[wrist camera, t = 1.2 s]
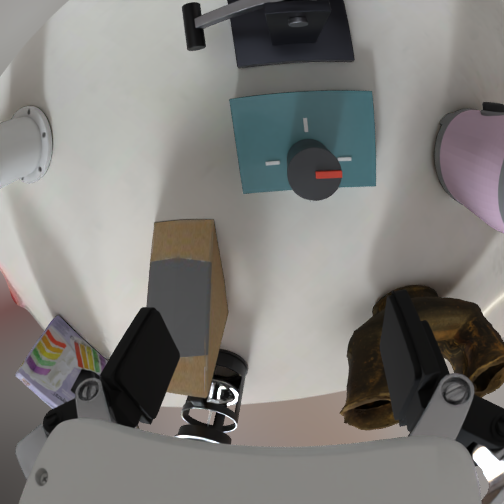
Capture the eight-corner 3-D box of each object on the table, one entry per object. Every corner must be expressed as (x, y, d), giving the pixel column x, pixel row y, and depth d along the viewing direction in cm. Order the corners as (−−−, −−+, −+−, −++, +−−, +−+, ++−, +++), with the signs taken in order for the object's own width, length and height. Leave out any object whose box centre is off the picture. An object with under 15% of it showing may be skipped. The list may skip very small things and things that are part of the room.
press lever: (199, 51, 21) (180, 50, 19) (193, 10, 19) (175, 7, 17) (321, 20, 14) (308, 12, 13) (310, -30, 12) (296, -41, 10)
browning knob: (288, 182, 28) (289, 203, 22) (284, 140, 26) (284, 149, 20) (331, 180, 27) (343, 200, 22) (329, 137, 25) (341, 146, 20)
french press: (253, 381, 50) (236, 493, 30) (206, 381, 51) (179, 484, 31) (239, 341, 44) (211, 475, 24) (186, 342, 46) (143, 462, 26)
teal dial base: (248, 196, 32) (244, 206, 29) (234, 99, 27) (228, 99, 24) (368, 189, 30) (376, 198, 27) (364, 92, 25) (372, 91, 22)
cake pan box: (121, 370, 55) (91, 432, 39) (111, 374, 57) (82, 432, 41) (59, 312, 48) (15, 370, 33) (53, 318, 50) (12, 373, 35)
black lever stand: (239, 68, 25) (212, 47, 15) (228, 0, 21) (199, -46, 10) (351, 62, 23) (389, 40, 13) (338, -7, 19) (363, -54, 9)
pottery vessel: (476, 263, 32) (542, 356, 15) (464, 315, 37) (509, 405, 20) (326, 297, 38) (341, 428, 21) (332, 347, 43) (341, 459, 26)
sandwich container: (215, 217, 34) (173, 294, 21) (230, 314, 41) (208, 399, 28) (152, 221, 35) (89, 289, 22) (176, 311, 42) (142, 388, 30)
